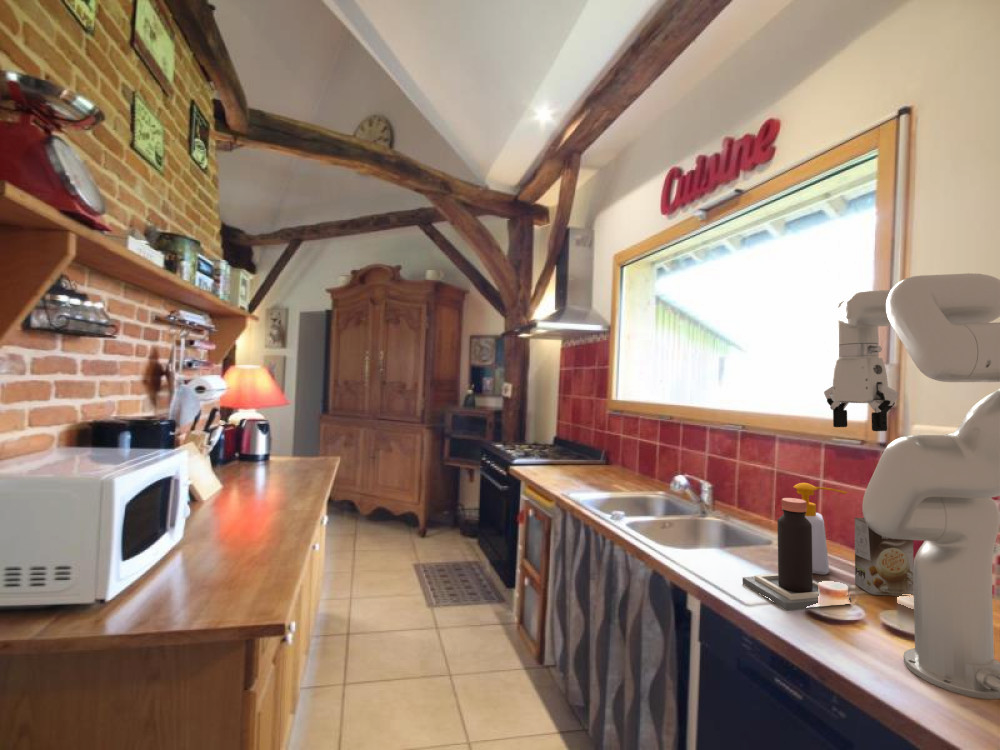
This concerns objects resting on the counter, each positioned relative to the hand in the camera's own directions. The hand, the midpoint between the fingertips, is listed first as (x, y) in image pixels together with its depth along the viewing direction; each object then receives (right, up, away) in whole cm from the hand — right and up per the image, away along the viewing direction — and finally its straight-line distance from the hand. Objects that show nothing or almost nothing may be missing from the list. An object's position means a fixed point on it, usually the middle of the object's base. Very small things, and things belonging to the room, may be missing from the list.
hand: (859, 428), depth 107 cm
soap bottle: (+2, -39, +18) cm, 43 cm away
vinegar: (-13, -37, +3) cm, 39 cm away
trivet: (-13, -38, +3) cm, 41 cm away
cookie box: (+9, -39, +5) cm, 40 cm away
